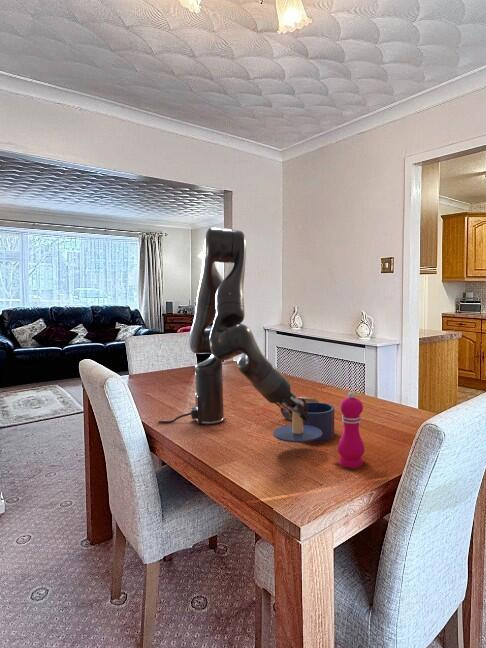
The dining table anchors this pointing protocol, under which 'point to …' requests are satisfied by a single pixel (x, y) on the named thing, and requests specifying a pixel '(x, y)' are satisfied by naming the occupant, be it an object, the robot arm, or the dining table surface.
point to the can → (321, 419)
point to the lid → (297, 431)
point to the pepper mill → (351, 433)
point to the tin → (288, 414)
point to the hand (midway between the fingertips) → (302, 417)
